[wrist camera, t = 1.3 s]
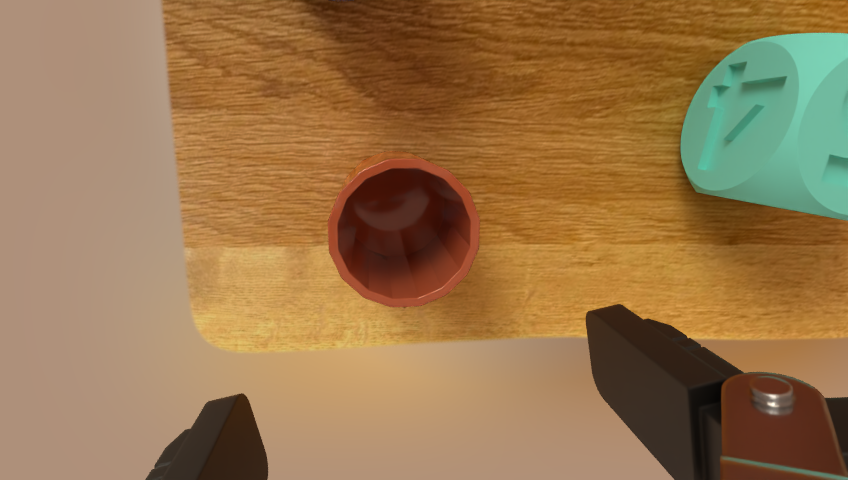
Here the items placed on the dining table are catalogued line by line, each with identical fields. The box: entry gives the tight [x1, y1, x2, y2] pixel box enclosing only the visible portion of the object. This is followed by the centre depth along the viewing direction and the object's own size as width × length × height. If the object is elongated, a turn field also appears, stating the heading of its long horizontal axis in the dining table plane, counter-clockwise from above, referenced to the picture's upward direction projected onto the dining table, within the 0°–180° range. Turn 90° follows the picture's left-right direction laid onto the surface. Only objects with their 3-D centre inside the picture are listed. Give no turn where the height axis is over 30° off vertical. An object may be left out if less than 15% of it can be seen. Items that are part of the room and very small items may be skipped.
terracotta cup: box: [328, 151, 480, 307], centre depth 24 cm, size 6×6×8 cm
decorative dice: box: [681, 33, 848, 221], centre depth 25 cm, size 8×8×8 cm
